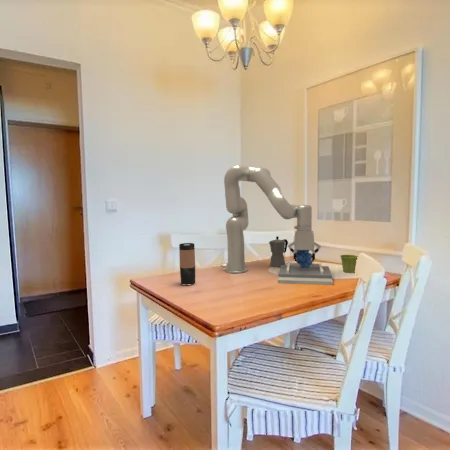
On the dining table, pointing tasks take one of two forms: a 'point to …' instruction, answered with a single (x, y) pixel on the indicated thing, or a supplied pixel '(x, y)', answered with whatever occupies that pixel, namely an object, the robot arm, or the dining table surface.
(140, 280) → the dining table surface
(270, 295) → the dining table surface
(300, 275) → the dock
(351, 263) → the plant pot
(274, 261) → the coffeepot
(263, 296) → the dining table surface
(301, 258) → the grapes
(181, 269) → the travel mug
